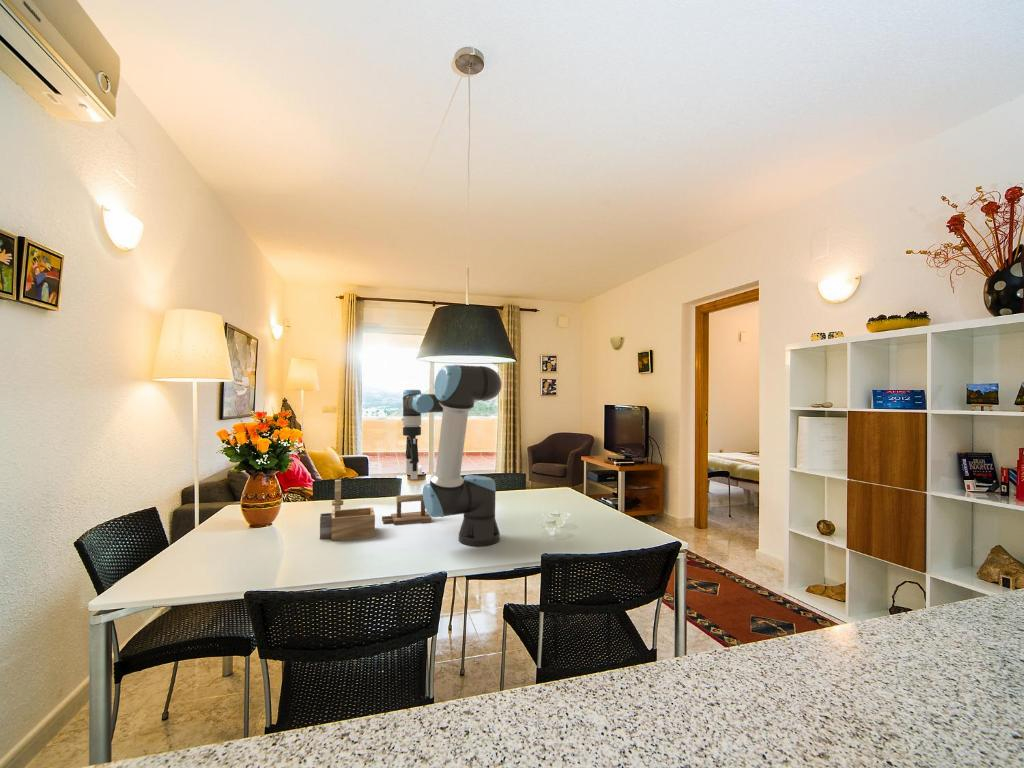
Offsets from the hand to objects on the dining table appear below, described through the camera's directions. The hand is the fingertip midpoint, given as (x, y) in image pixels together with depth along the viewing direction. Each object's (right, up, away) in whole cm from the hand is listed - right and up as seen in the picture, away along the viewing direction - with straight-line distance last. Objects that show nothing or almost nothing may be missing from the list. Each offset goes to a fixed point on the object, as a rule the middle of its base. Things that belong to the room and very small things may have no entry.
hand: (411, 476), depth 197 cm
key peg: (-31, -18, -1) cm, 36 cm away
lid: (-2, -18, -1) cm, 18 cm away
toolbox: (-20, -18, -21) cm, 34 cm away
